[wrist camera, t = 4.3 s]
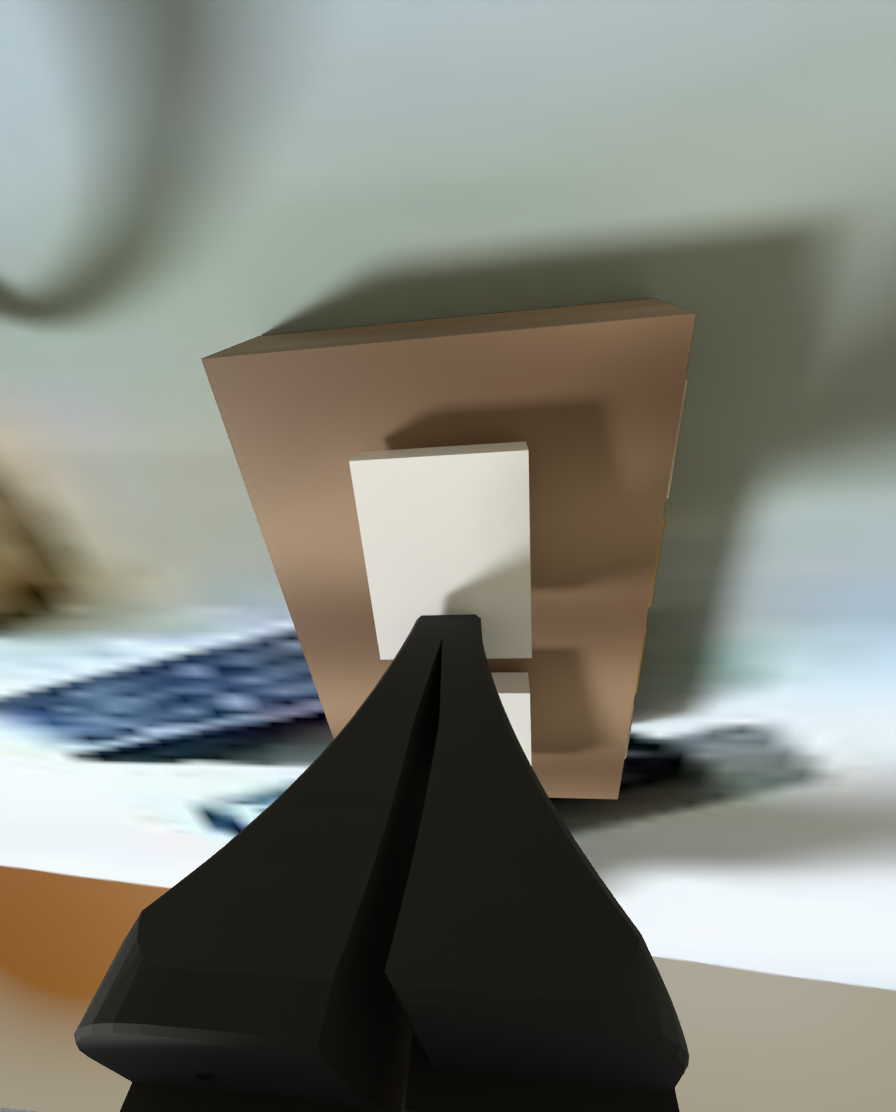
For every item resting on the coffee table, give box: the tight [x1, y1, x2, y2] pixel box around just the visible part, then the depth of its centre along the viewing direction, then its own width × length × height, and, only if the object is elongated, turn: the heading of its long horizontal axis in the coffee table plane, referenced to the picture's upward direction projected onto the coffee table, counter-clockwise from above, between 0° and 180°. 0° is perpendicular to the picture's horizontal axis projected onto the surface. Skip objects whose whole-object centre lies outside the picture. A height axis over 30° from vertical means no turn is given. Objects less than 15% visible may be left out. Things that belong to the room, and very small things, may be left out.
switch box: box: [201, 298, 696, 799], centre depth 15 cm, size 16×10×4 cm, turn 6°
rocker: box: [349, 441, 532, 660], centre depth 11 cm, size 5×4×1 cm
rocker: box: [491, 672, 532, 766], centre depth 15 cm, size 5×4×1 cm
